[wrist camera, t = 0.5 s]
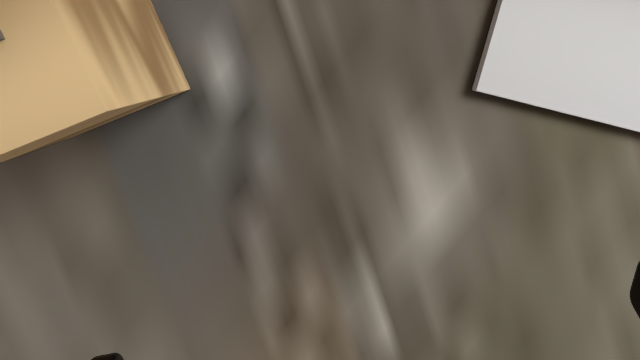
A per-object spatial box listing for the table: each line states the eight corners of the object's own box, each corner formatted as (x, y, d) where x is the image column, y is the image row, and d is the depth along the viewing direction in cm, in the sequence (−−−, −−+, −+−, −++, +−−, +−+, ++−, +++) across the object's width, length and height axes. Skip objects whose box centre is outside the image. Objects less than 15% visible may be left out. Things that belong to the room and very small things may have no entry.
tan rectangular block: (190, 88, 21) (96, 114, 10) (73, 136, 21) (-156, 216, 10) (132, -40, 20) (-50, -179, 9) (9, 10, 20) (-335, -64, 9)
